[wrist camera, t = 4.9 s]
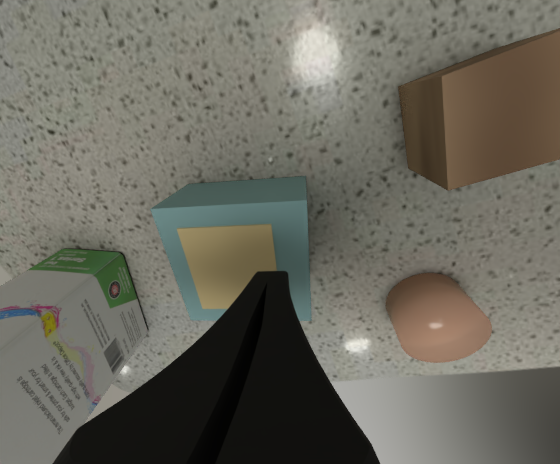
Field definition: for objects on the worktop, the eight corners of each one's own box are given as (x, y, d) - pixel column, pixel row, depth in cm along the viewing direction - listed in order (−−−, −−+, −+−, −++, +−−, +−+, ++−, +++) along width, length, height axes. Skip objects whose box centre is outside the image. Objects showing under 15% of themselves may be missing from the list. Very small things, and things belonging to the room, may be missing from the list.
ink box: (60, 245, 17) (-312, 456, 7) (125, 251, 17) (-159, 479, 6) (98, 326, 21) (-100, 537, 11) (151, 332, 21) (0, 554, 10)
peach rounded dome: (468, 270, 15) (503, 304, 13) (452, 324, 18) (479, 362, 15) (388, 274, 16) (405, 307, 13) (382, 325, 18) (396, 362, 16)
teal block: (306, 201, 10) (149, 210, 10) (311, 322, 13) (190, 321, 14) (305, 175, 13) (189, 183, 14) (309, 274, 17) (214, 276, 17)
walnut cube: (494, 48, 10) (597, 16, 7) (492, 141, 12) (573, 155, 8) (397, 86, 11) (441, 76, 8) (407, 168, 13) (448, 190, 9)
